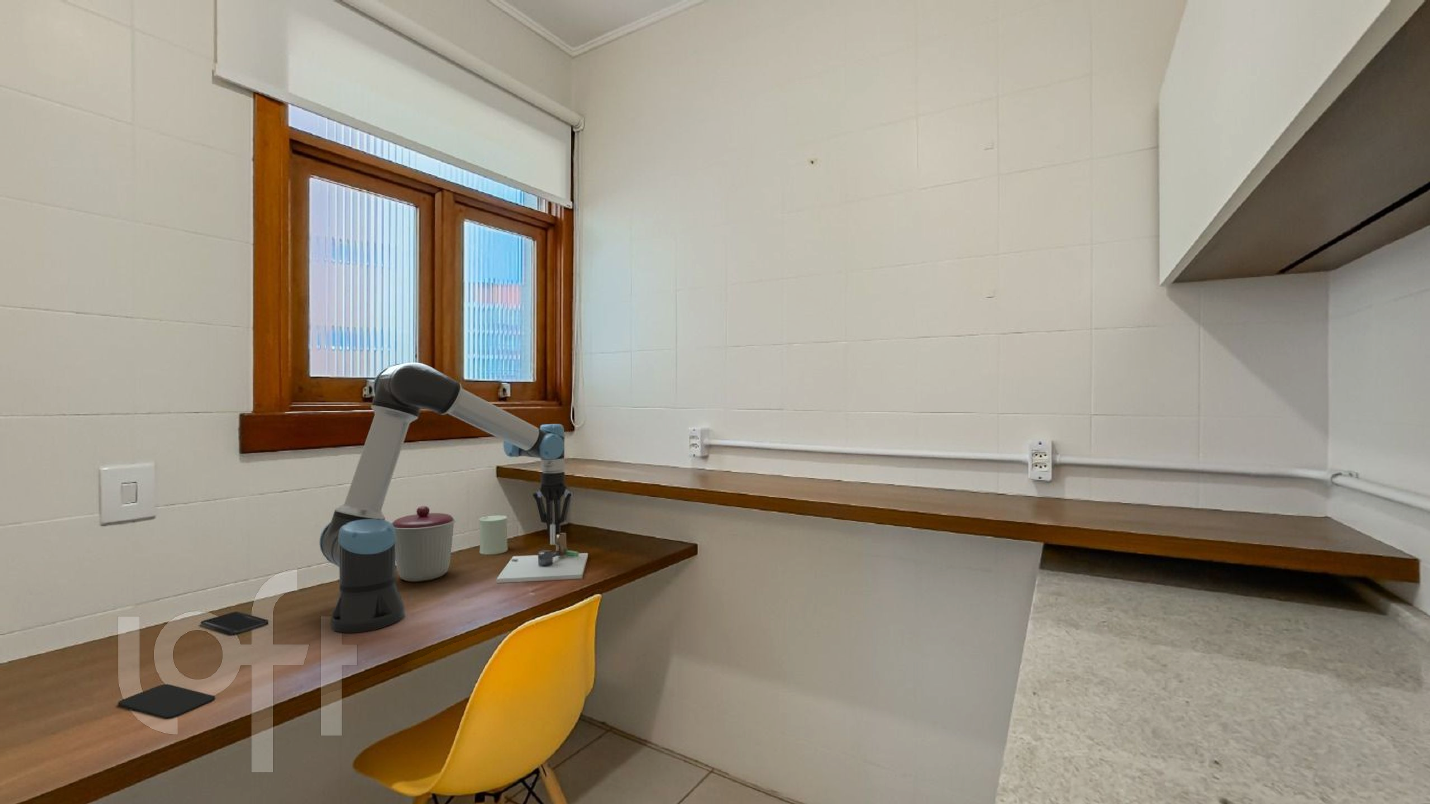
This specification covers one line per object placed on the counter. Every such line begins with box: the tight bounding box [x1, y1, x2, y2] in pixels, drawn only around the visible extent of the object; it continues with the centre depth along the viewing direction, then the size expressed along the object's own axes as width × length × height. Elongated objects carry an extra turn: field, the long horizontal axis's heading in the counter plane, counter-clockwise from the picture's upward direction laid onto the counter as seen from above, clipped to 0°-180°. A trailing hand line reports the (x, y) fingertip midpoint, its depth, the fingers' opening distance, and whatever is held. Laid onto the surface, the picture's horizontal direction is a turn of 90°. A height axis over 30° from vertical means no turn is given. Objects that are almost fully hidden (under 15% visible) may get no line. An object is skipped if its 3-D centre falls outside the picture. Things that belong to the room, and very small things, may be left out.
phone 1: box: [117, 683, 216, 720], centre depth 105 cm, size 7×1×15 cm
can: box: [478, 515, 509, 556], centre depth 206 cm, size 9×9×12 cm
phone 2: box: [200, 611, 269, 636], centre depth 141 cm, size 8×1×15 cm
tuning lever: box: [537, 532, 569, 566], centre depth 189 cm, size 14×4×7 cm, turn 163°
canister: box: [391, 505, 457, 582], centre depth 177 cm, size 18×18×21 cm
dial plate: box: [496, 550, 589, 584], centre depth 184 cm, size 24×24×2 cm
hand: (554, 543), depth 193 cm, fingers closed
